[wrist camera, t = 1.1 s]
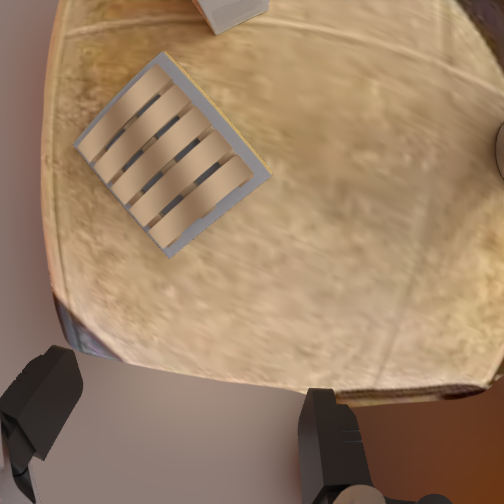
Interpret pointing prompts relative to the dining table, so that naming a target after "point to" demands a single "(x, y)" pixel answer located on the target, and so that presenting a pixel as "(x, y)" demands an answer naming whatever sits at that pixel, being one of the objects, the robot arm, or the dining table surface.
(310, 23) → the dining table surface
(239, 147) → the rack
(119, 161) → the pallet
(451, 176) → the dining table surface
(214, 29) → the small box
